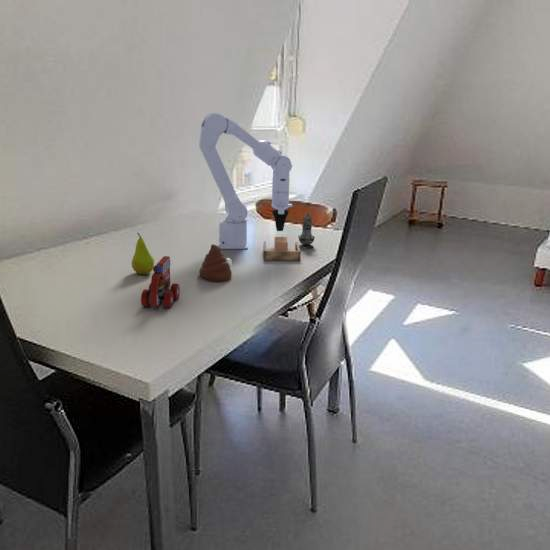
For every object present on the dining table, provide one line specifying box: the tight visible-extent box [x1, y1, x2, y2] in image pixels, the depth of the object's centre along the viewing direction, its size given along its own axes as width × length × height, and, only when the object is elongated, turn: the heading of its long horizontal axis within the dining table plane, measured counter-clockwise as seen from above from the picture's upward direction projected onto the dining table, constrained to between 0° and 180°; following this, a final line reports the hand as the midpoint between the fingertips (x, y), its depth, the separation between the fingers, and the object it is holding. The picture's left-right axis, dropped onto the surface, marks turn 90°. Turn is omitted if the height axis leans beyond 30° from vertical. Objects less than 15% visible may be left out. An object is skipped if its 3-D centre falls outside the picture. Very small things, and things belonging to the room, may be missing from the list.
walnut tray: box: [263, 240, 302, 262], centre depth 158 cm, size 11×12×3 cm
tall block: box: [273, 236, 289, 251], centre depth 161 cm, size 4×4×7 cm
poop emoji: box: [198, 244, 233, 283], centre depth 135 cm, size 10×8×9 cm
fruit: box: [131, 232, 155, 275], centre depth 136 cm, size 6×6×12 cm
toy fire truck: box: [140, 255, 181, 309], centre depth 116 cm, size 7×12×10 cm, turn 175°
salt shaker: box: [297, 212, 316, 250], centre depth 167 cm, size 6×6×12 cm
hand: (279, 230), depth 170 cm, fingers closed
